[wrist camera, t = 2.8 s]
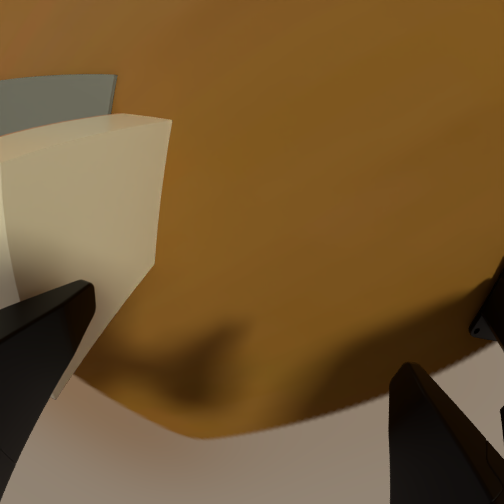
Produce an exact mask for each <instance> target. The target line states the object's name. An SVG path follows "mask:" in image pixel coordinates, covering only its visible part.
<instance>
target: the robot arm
mask: <svg viewBox="0 0 504 504" xmlns="http://www.w3.org/2000/svg"><path fill="white" fill-rule="evenodd" d="M95 311H96V299H95V288H94V285H93V284H92V283H91V282H88V281H85V280H82V279H80V280H77V281H74V282H71V283H68V284H66V285H63V286H60V287H58V288H55V289H52V290H49V291H47V292H44V293H41V294H39V295H36V296H33V297H31V298H28V299H26V300H23V301H20V302H18V303H15V304H12V305H10V306H7V307H5V308H2V309H0V501H1V498H2V496H3V493H4V491H5V488H6V486H7V484H8V481H9V479H10V477H11V474H12V472H13V470H14V468H15V465H16V464H15V463H17V461H18V458H19V456H20V454H21V452H22V450H23V448H24V446H25V444H26V442H27V440H28V438H29V435H30V434H31V432H32V430H33V428H34V426H35V424H36V422H37V420H38V418H39V416H40V414H41V413H42V411H43V409H44V407H45V405H46V403H47V402H48V400H49V398H50V396H51V394H52V393H53V391H54V389H55V387H56V386H57V384H58V382H59V380H60V379H61V377H62V375H63V374H64V372H65V370H66V368H67V367H68V365H69V363H70V362H71V360H72V358H73V357H74V355H75V353H76V351H77V349H78V347H79V345H80V343H81V340H82V338H83V336H84V334H85V332H86V330H87V328H88V326H89V324H90V322H91V320H92V318H93V316H94V314H95ZM469 333H470V334H471V336H473V337H477V338H482V339H488V340H493V341H498V343H499V345H500V346H501V348H502V350H503V351H504V269H503V271H502V273H501V275H500V277H499V279H498V280H497V282H496V284H495V286H494V288H493V289H492V291H491V293H490V295H489V296H488V298H487V300H486V302H485V303H484V305H483V307H482V308H481V310H480V311H479V313H478V315H477V316H476V318H475V319H474V321H473V322H472V324H471V325H470V327H469ZM500 414H501V421H502V430H503V439H504V406H503V407H502V408H501V409H500ZM389 453H390V504H504V459H503V458H502V457H501V456H500V454H499V453H498V452H497V451H496V450H495V449H494V448H493V446H492V445H491V444H490V443H489V442H488V441H487V440H486V438H485V437H484V436H483V435H482V434H481V432H480V431H479V430H478V429H477V428H476V427H475V426H474V424H473V423H472V422H471V421H470V420H469V419H468V418H467V417H466V415H465V414H464V413H463V412H462V411H461V410H460V409H459V408H458V406H457V405H456V404H455V403H454V402H453V401H452V400H451V399H450V398H449V397H448V395H447V394H446V393H445V392H444V391H443V390H442V389H441V388H440V387H439V386H438V385H437V383H436V382H435V381H434V380H433V379H432V378H431V377H430V376H429V375H428V374H427V373H426V371H425V370H424V369H423V368H422V367H421V366H420V365H419V364H417V363H413V362H405V363H404V364H403V365H402V366H401V368H400V369H399V370H398V372H397V373H396V374H395V376H394V377H393V378H392V380H391V382H390V386H389Z"/></svg>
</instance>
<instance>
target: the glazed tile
mask: <svg viewBox="0 0 504 504" xmlns="http://www.w3.org/2000/svg"><path fill="white" fill-rule="evenodd" d="M171 125H172V120H169V119H162V118H155V117H148V116H140V115H132V114H123V113H116V114H108V115H100V116H93V117H86V118H80V119H74V120H68V121H63V122H57V123H52V124H47V125H43V126H38V127H33V128H29V129H25V130H21V131H17V132H13V133H9V134H5V135H2V136H0V309H2V308H5V307H7V306H10V305H12V304H15V303H18V302H20V301H23V300H26V299H28V298H31V297H33V296H36V295H39V294H41V293H44V292H47V291H49V290H52V289H55V288H58V287H60V286H63V285H66V284H68V283H71V282H74V281H77V280H80V279H82V280H85V281H88V282H91V283H92V284H93V285H94V288H95V299H96V311H95V314H94V316H93V318H92V320H91V322H90V324H89V326H88V328H87V330H86V332H85V334H84V336H83V338H82V340H81V343H80V345H79V347H78V349H77V351H76V353H75V355H74V357H73V358H72V360H71V362H70V363H69V365H68V367H67V368H66V370H65V372H64V374H63V375H62V377H61V379H60V380H59V382H58V384H57V386H56V387H55V389H54V391H53V393H52V394H51V396H50V397H51V398H53V399H55V400H56V399H57V397H58V396H59V394H60V393H61V391H62V390H63V388H64V387H65V385H66V384H67V382H68V381H69V379H70V378H71V376H72V375H73V373H74V372H75V370H76V369H77V367H78V366H79V365H80V363H81V362H82V360H83V359H84V357H85V356H86V354H87V353H88V352H89V350H90V349H91V347H92V346H93V345H94V343H95V342H96V340H97V339H98V338H99V336H100V335H101V333H102V332H103V331H104V329H105V328H106V327H107V325H108V324H109V322H110V321H111V320H112V318H113V317H114V316H115V314H116V313H117V312H118V310H119V309H120V308H121V306H122V305H123V304H124V302H125V301H126V300H127V298H128V297H129V296H130V295H131V293H132V292H133V291H134V289H135V288H136V287H137V285H138V284H139V283H140V282H141V280H142V279H143V278H144V277H145V275H146V274H147V273H148V272H149V270H150V269H151V268H152V266H153V265H154V263H155V250H156V238H157V228H158V218H159V209H160V200H161V192H162V184H163V176H164V169H165V162H166V156H167V149H168V143H169V137H170V131H171Z"/></svg>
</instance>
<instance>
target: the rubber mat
mask: <svg viewBox="0 0 504 504" xmlns="http://www.w3.org/2000/svg"><path fill="white" fill-rule="evenodd" d="M116 80H117V75H104V74H78V75H52V76H38V77H26V78H17V79H9V80H1V81H0V136H2V135H5V134H9V133H13V132H17V131H21V130H25V129H29V128H33V127H38V126H43V125H47V124H52V123H57V122H63V121H68V120H74V119H80V118H86V117H93V116H100V115H108V114H111V110H112V103H113V97H114V91H115V85H116Z"/></svg>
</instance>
